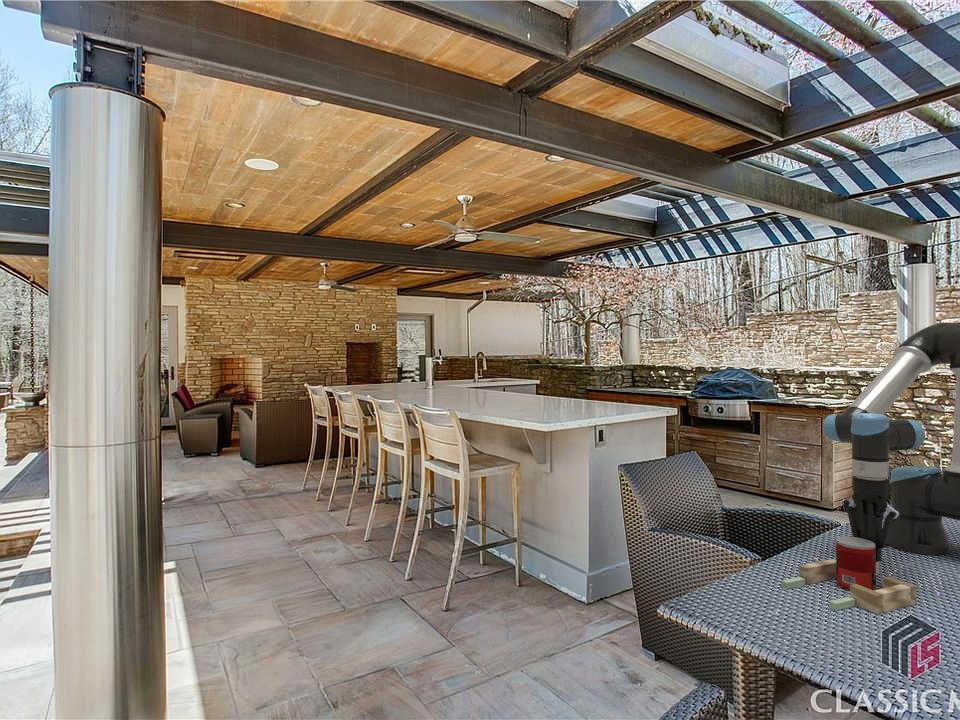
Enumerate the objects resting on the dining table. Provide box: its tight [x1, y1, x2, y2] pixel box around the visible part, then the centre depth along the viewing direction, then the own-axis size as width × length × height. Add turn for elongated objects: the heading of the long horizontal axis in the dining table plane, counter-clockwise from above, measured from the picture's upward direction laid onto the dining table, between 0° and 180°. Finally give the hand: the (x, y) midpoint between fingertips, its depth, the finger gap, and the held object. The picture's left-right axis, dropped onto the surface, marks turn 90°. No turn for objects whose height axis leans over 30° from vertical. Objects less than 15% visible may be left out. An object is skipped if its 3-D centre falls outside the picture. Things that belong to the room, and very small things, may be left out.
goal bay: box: [781, 576, 856, 612], centre depth 131 cm, size 6×14×2 cm, turn 20°
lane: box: [798, 558, 918, 615], centre depth 133 cm, size 13×19×4 cm
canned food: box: [835, 536, 877, 591], centre depth 136 cm, size 8×8×11 cm
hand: (871, 572), depth 138 cm, fingers closed
